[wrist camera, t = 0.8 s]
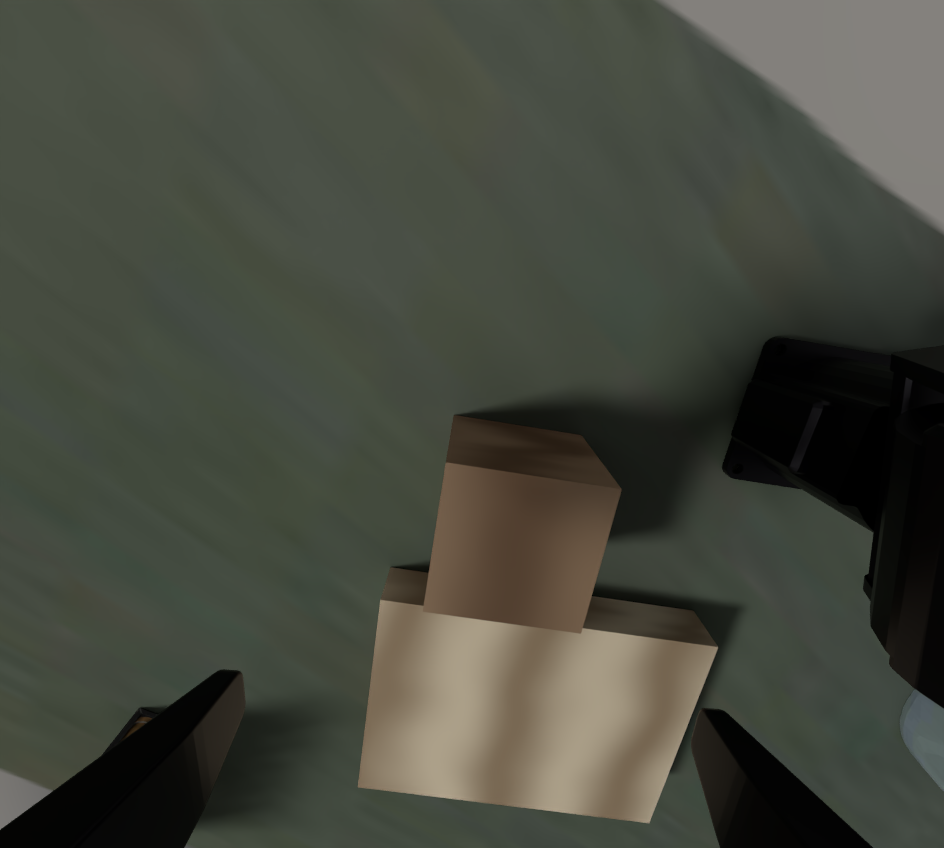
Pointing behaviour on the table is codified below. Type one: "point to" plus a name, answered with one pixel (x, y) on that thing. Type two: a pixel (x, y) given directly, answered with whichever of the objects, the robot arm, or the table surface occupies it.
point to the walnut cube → (519, 526)
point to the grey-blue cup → (924, 734)
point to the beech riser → (531, 704)
